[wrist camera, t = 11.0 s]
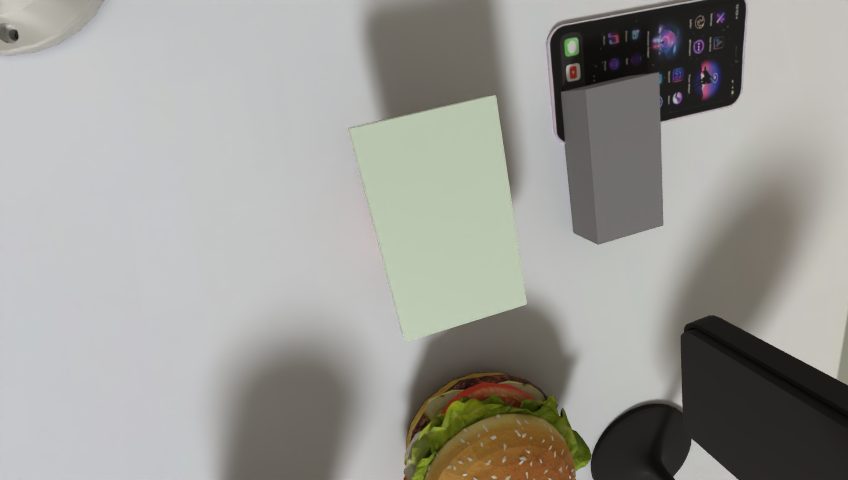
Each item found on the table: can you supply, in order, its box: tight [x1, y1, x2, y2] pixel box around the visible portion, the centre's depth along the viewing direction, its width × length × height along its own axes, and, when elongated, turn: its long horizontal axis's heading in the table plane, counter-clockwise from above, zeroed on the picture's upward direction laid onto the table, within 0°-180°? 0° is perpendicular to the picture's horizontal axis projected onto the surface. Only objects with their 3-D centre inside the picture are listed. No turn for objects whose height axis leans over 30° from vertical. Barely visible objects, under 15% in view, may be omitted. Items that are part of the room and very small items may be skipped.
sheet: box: [348, 95, 527, 342], centre depth 24 cm, size 12×8×1 cm, turn 12°
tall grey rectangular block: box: [561, 72, 663, 244], centre depth 29 cm, size 10×5×3 cm, turn 12°
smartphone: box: [546, 0, 748, 144], centre depth 29 cm, size 8×1×15 cm
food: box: [404, 372, 591, 480], centre depth 31 cm, size 14×14×8 cm
